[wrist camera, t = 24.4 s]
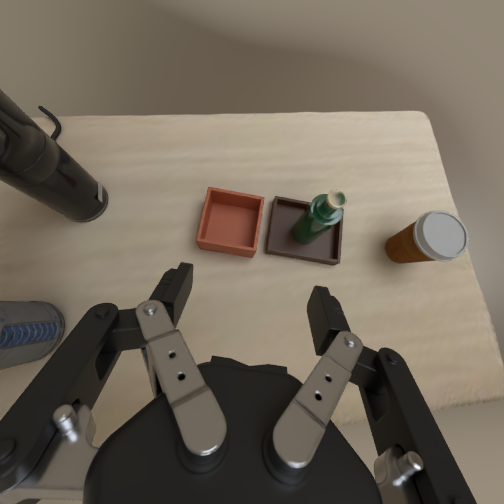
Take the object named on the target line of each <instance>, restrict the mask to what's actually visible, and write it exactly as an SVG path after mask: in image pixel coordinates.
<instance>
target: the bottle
mask: <svg viewBox="0 0 504 504" xmlns="http://www.w3.org/2000/svg"><path fill="white" fill-rule="evenodd" d="M346 203H347V197H346V195H345V193H344V192H342V191H341V190H332V191H331V192H330V193H329V194H322V195H318V196H317V197H315V198H314V199H313V201H312V202H311V203H310V204H309V206H308V207H307V208H306V210H305V211H304V212H303V214H302V215H301V216H300V217H299V219H298V220H297V221H296V223H295V224H294V225H293V227H292V236H293V238H294V240H295V241H296V242H297V243H299V244H302V245H308V244H311V243H312V242H314V241H315V240H316V239H317V238H319V237H320V236H321V235H322V234H324V233H325V232H326V231H327V230H329V229H330V228H331V227H332V226H334V225H335V224H336V223H338V222H339V221H340V219H341V218H342V215H343V207H344V206H345V205H346Z"/></svg>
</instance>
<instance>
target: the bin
mask: <svg viewBox="0 0 504 504" xmlns="http://www.w3.org/2000/svg"><path fill="white" fill-rule="evenodd" d="M263 204H264V197H260V196H255V195H249V194H244V193H239V192H233V191H228V190H223V189H217V188H211V187H208V191H207V195H206V200H205V204H204V209H203V213H202V217H201V222H200V226H199V231H198V235H197V240H196V241H197V243H198V245H199V247H200V249H205V250H211V251H217V252H223V253H228V254H234V255H240V256H245V257H251V258H253V256H254V254H255V252H256V248H257V241H258V235H259V229H260V223H261V216H262V210H263Z"/></svg>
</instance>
